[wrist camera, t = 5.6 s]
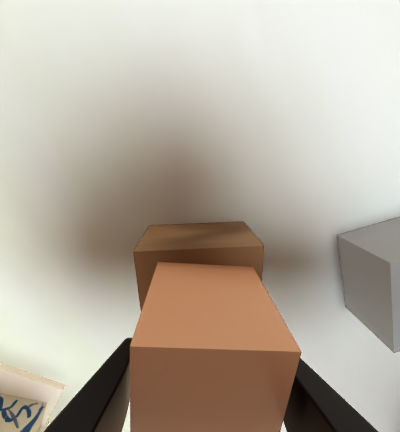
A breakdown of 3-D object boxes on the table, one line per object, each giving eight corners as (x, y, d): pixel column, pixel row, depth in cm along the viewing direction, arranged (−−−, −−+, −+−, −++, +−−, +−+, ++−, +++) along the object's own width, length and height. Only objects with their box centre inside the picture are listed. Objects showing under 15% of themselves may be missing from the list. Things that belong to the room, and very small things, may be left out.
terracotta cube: (252, 266, 10) (301, 351, 5) (240, 342, 11) (271, 461, 7) (158, 261, 10) (130, 346, 5) (155, 339, 11) (130, 461, 6)
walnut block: (242, 220, 13) (263, 245, 9) (240, 299, 15) (257, 347, 11) (150, 224, 13) (133, 251, 9) (157, 303, 15) (146, 354, 11)
